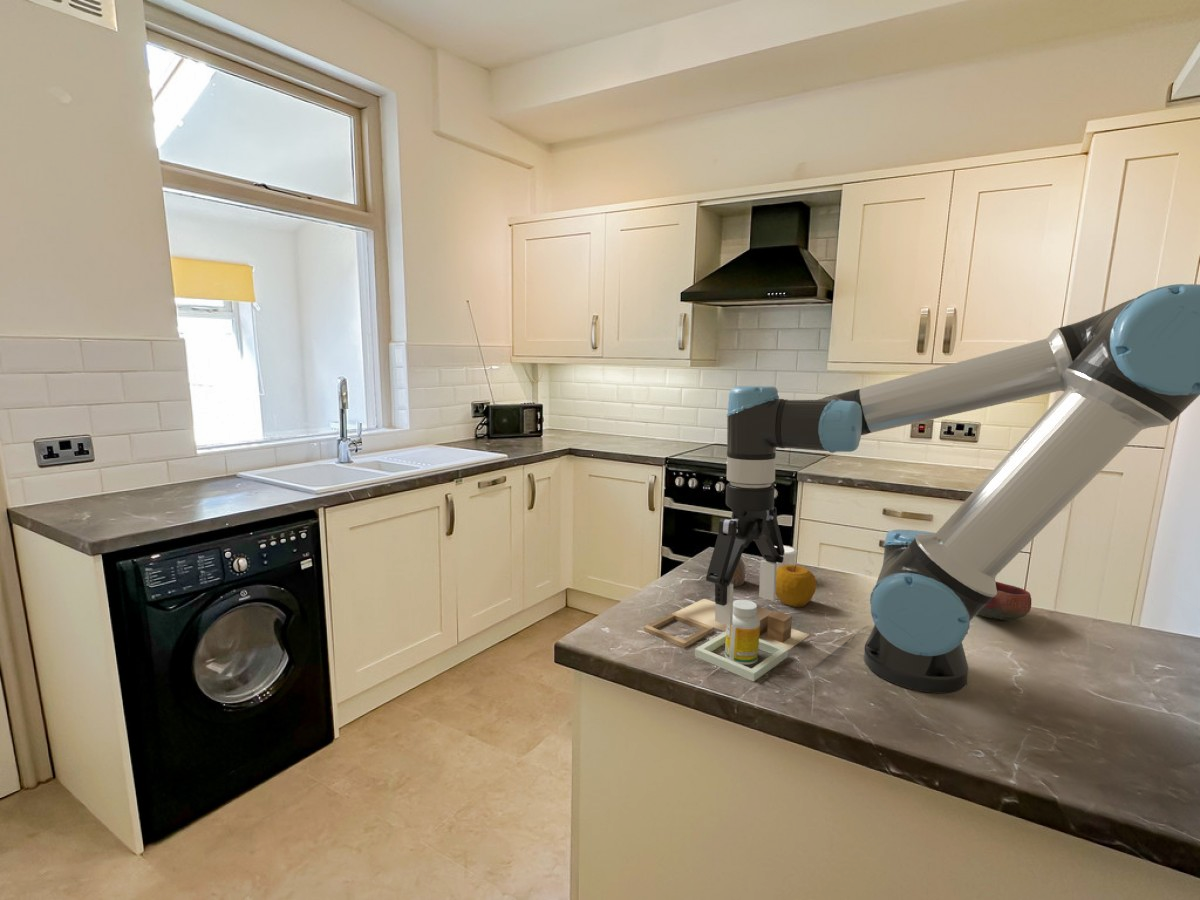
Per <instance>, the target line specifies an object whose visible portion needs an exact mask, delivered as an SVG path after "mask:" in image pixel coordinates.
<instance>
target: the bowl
mask: <svg viewBox="0 0 1200 900" xmlns="http://www.w3.org/2000/svg"><path fill="white" fill-rule="evenodd" d="M995 582H996V589H997V594H996V595H995V597H993V598H992V599H991V600H990V601H989V602H988V604H987V605H986V606H984V607H983V608H982V609H981V610H980V611H979V612H978V613H977V614H976V615H980V616H982V617H985V618H986V617H987V618H990V619H995V620H1003V621H1004V620H1005V621H1012V620H1013V621H1014V620H1019V619H1021V618H1023V617H1025V616H1026V615H1027V614H1029V612H1030V611H1031V609H1032V595H1031V593H1030V592H1029V591H1027V590H1026V589H1025V588H1024V589H1023V588H1021V587H1018V586H1014V585H1011V584H1006V583H1003V582H999V581H996V580H995Z"/></svg>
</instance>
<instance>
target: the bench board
mask: <svg viewBox="0 0 1200 900" xmlns="http://www.w3.org/2000/svg"><path fill="white" fill-rule="evenodd" d="M773 612H774V613H772V614H771V615H769V616H768V629H767V632H765V633H764V634H762V635H760V636H759V639H761V640H764V641H767V642H769V643H772V644H775V645H777V646H780V647H783V648H786V649H788V651H790V650H791V649H793V648H794V647H795V646H797V645H798V644H799V643H801V642H803V641H804V640H805V639H807V638H808V637H809V636H811V634H808V633H806V632H803V631H802V630H797V629H794V628H792V621H793V616H792V615H789V614H787V613H783V612H781V611H773ZM675 613H677V614H680V615H682V616H685V617H688V618H690V619H693V620H696V621H698V622H701V623H704V624H706V625H709V626H712V627H714V629H716V630H719V631H722V632H723V633H724V632H725V631H726V626H727V625H725V624H722V623H720V622H717V621H715V601H712V600H710V599H707V598H702V599H700V600H698V601H696V602H694V603H692V604H690V605H687V606H686V607H683V608H681V609H679V610H677V611H675Z"/></svg>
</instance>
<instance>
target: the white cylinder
mask: <svg viewBox="0 0 1200 900" xmlns="http://www.w3.org/2000/svg"><path fill="white" fill-rule="evenodd" d="M775 547H776V548H777V546H775ZM783 547H784V551H785V552H784V555H783V556H782V557H783V562H782V563H779V562H776V563H777V569H778V568H779V567H781V566H783V565H796V560H797V555H798V550H797V549H796V548H795V547H792V546H790V545H784V544H783Z"/></svg>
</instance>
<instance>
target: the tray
mask: <svg viewBox="0 0 1200 900" xmlns="http://www.w3.org/2000/svg"><path fill="white" fill-rule="evenodd" d="M725 643H726V631H725V632H724V631H723V632H722V633H720V634H718V635H717V636H715V637H713V638H711V639H709V640H708V641H706V642H705V643H702V644H701V645H700V646H697V647H696V648H694V657H695V658H697V659H700V660H702V661H704V662H706V663H709V664H712V665H713V666H716V667H719V668H720V669H723V670H726V671H728V672H730V673H732V674H734V675H738V676H740V677H742V678H744V679H745V680H749V681H751V682H755V681H756V680H759V678H761V677H762V676H764V675H765V674H766V673H768V672H769V671H771V670H772V669H773V668H775V667H776V666H777V665H779V664H780V663H781V662H783V661H784V660H786V659H787V658H788V657H789V650H788V649H786V648H783V647H780V646H777V645H775V644H772V643H769V642H767V641H764V640H761V639H759V648H758V650H760V651H763V652H764V653H768V654H770V655H769V656H768V657H767V658H764V660H762V661H761V662H759V663H758V664H756V665H755V666H753V667H752V668H750V667H748V666H746V665H742V664H739V663H736V662H734V661H732V660H729V659H727V658H726V657H724V656H722V655H719V654H717V653H714V652H713V651H714V650H717V649H718V648H719V647H721V646H723V645H725Z"/></svg>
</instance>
